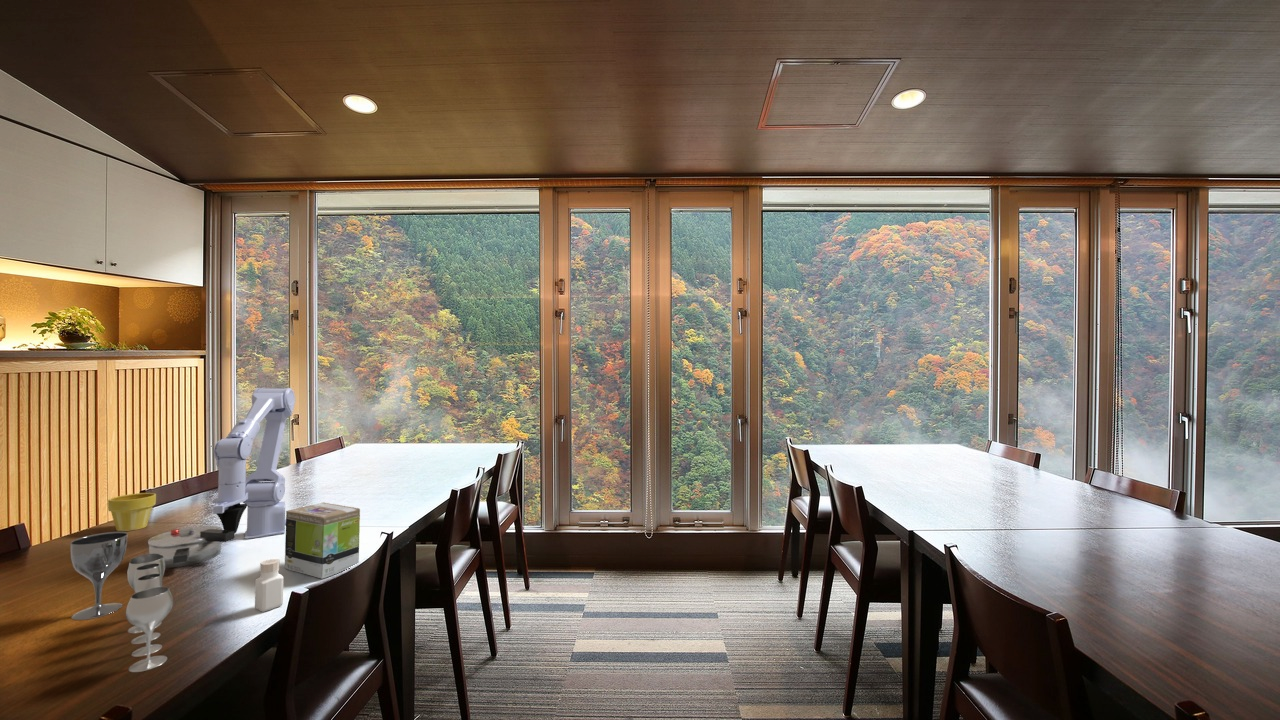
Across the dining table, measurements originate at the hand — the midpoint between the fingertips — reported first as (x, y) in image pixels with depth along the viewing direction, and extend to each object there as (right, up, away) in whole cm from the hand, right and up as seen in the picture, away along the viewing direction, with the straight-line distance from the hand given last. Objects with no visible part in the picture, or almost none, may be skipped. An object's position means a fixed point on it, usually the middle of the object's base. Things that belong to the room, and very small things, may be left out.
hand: (230, 533), depth 135 cm
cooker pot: (-7, -5, -5) cm, 11 cm away
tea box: (+30, -6, -8) cm, 32 cm away
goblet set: (+19, -5, -42) cm, 46 cm away
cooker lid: (-6, 0, -3) cm, 7 cm away
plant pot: (-47, -6, +20) cm, 51 cm away
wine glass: (-1, -5, -32) cm, 32 cm away
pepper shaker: (+32, -6, -29) cm, 44 cm away
